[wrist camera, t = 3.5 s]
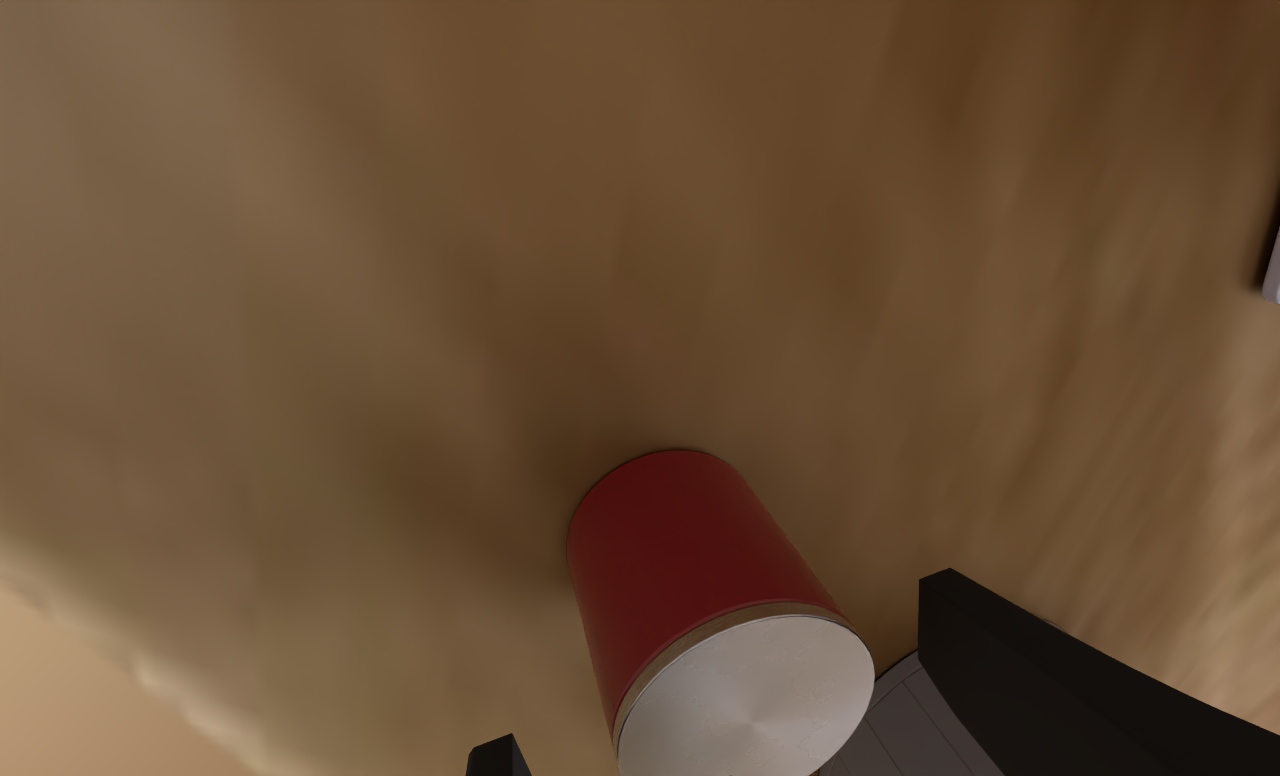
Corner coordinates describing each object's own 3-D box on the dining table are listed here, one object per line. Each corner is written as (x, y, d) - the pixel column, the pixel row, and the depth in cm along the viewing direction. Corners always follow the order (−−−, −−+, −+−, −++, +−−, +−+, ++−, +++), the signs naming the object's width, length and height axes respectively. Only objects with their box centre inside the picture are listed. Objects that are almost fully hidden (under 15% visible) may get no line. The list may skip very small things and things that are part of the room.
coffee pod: (741, 422, 14) (873, 576, 9) (761, 572, 16) (877, 753, 11) (542, 485, 13) (586, 681, 9) (591, 633, 15) (646, 850, 11)
